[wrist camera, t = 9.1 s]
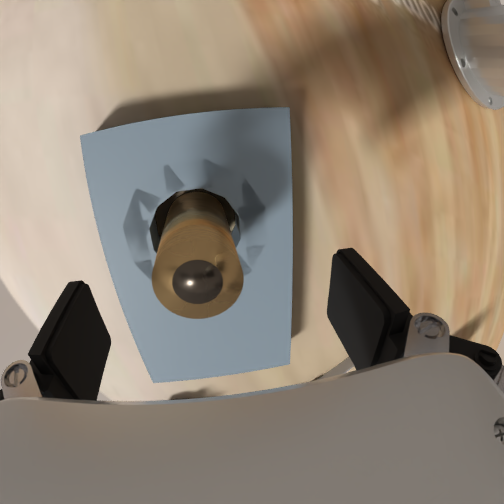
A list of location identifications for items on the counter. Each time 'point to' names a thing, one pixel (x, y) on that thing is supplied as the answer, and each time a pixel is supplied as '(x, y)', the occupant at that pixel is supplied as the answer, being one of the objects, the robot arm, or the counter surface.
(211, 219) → the amber peg
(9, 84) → the counter surface
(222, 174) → the plate
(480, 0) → the robot arm
